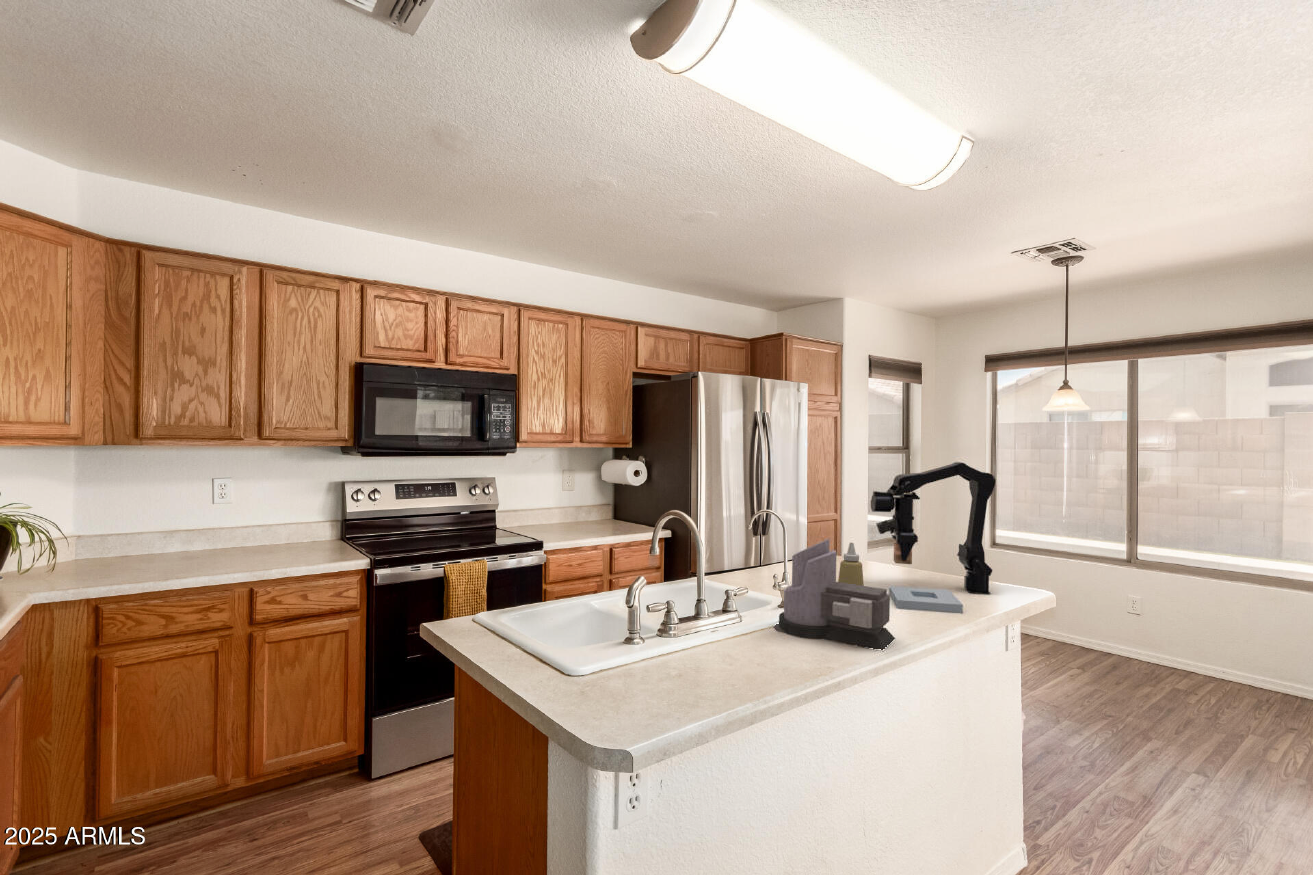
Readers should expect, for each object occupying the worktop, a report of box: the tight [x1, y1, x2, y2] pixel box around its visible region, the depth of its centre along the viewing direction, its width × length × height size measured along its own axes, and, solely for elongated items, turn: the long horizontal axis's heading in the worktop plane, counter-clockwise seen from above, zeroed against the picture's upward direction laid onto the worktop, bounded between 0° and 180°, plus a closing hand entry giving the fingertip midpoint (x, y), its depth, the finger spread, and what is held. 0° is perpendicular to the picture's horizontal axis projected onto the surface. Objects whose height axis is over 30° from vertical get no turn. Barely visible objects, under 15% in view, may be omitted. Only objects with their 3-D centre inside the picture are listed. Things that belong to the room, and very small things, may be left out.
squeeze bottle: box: [837, 542, 865, 586], centre depth 198 cm, size 8×8×18 cm
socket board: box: [888, 585, 964, 614], centre depth 197 cm, size 18×18×2 cm
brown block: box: [893, 542, 913, 565], centre depth 213 cm, size 5×5×6 cm
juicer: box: [773, 538, 896, 650], centre depth 166 cm, size 30×16×24 cm, turn 56°
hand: (902, 559), depth 213 cm, fingers closed on brown block, 5 cm apart
